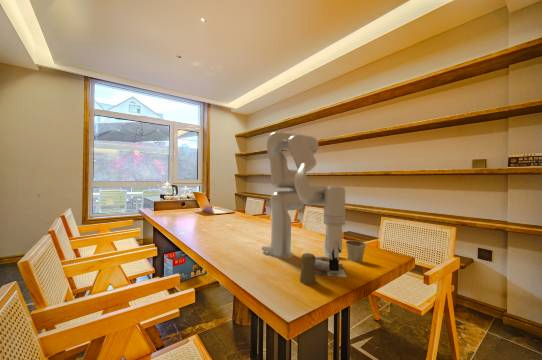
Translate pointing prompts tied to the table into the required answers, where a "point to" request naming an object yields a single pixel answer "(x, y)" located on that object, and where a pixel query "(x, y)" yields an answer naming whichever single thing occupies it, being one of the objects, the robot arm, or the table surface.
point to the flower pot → (355, 250)
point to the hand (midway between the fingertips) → (333, 270)
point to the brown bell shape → (308, 269)
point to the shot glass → (325, 250)
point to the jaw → (323, 266)
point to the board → (324, 273)
